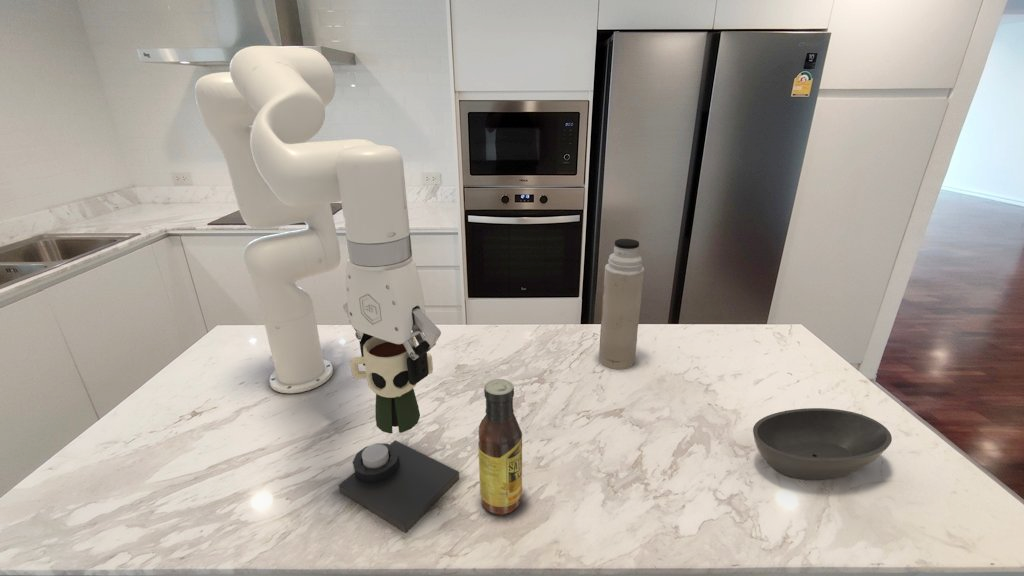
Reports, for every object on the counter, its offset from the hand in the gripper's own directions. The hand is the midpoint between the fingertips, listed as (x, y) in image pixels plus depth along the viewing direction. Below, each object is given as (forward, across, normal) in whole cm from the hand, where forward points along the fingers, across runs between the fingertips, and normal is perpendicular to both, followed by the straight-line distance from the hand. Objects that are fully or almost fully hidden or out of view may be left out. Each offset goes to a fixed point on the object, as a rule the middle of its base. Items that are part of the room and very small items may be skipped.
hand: (395, 370), depth 66 cm
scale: (+21, -2, 0) cm, 21 cm away
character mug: (+9, 0, 0) cm, 9 cm away
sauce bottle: (+22, +13, +6) cm, 26 cm away
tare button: (+19, -7, 0) cm, 20 cm away
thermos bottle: (+22, +13, +53) cm, 58 cm away
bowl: (+22, +52, +39) cm, 68 cm away
